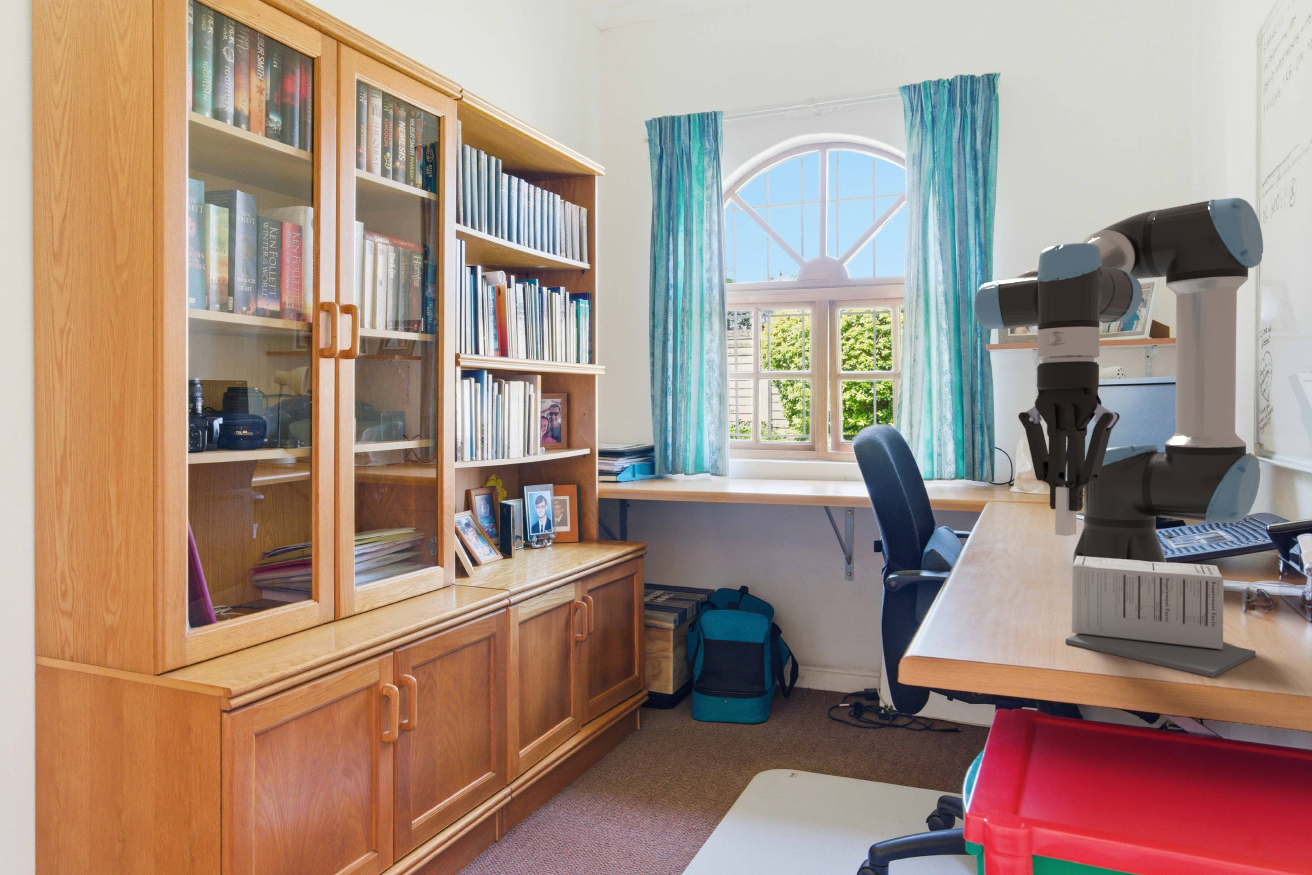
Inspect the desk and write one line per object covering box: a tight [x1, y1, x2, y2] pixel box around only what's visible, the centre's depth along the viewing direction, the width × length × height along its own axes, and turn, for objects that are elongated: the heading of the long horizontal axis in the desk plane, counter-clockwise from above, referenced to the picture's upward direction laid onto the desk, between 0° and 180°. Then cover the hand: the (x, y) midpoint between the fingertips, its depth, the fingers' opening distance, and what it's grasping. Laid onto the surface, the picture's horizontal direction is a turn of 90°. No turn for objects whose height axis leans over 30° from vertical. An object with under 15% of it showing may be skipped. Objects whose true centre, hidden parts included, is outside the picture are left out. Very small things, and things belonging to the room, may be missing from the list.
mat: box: [1065, 633, 1256, 678], centre depth 106 cm, size 13×17×1 cm
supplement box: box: [1071, 556, 1224, 649], centre depth 110 cm, size 10×9×17 cm
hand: (1065, 534), depth 114 cm, fingers closed
